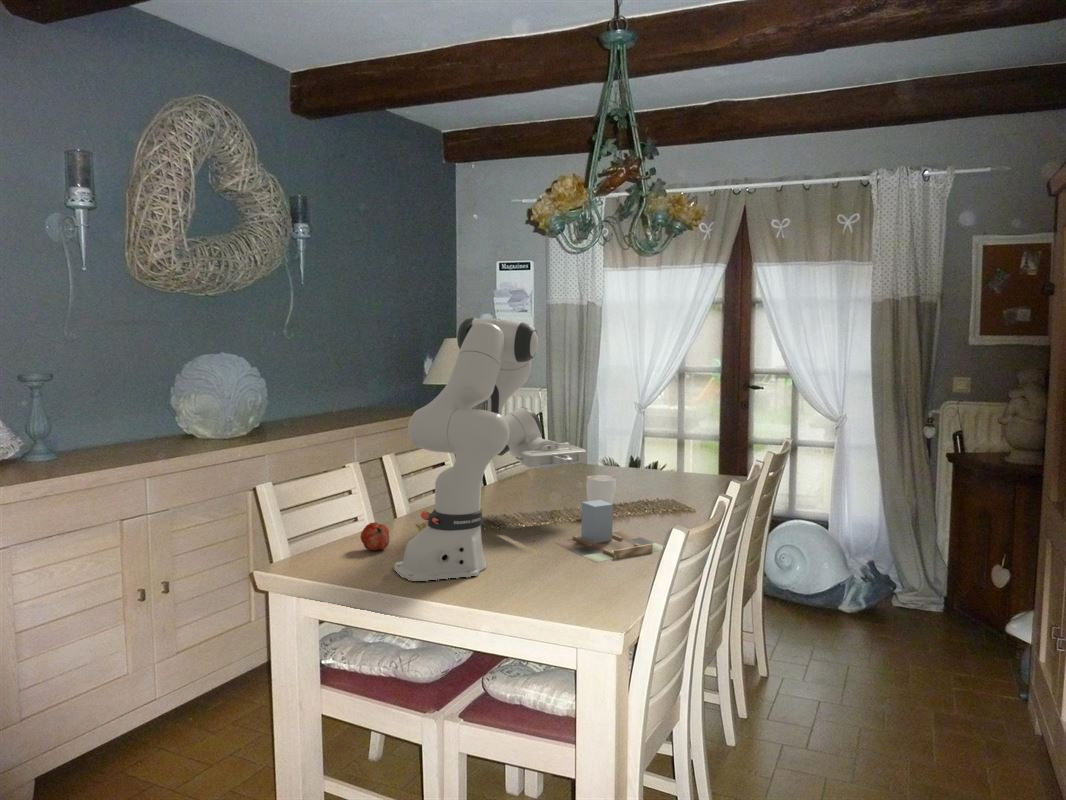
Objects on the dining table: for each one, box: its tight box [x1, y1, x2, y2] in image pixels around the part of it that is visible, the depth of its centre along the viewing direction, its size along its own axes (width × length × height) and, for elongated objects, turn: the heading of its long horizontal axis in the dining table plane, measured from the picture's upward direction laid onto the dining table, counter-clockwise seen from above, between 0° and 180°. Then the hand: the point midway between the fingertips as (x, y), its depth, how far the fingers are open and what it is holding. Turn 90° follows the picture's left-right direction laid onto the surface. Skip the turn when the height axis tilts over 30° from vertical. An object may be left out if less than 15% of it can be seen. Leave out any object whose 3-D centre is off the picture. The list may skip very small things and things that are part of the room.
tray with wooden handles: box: [553, 530, 664, 563], centre depth 209 cm, size 24×20×3 cm
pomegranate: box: [360, 522, 390, 551], centre depth 205 cm, size 7×7×10 cm
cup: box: [585, 474, 616, 505], centre depth 243 cm, size 9×9×12 cm
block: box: [580, 500, 614, 543], centre depth 214 cm, size 6×6×10 cm
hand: (568, 461), depth 225 cm, fingers closed
